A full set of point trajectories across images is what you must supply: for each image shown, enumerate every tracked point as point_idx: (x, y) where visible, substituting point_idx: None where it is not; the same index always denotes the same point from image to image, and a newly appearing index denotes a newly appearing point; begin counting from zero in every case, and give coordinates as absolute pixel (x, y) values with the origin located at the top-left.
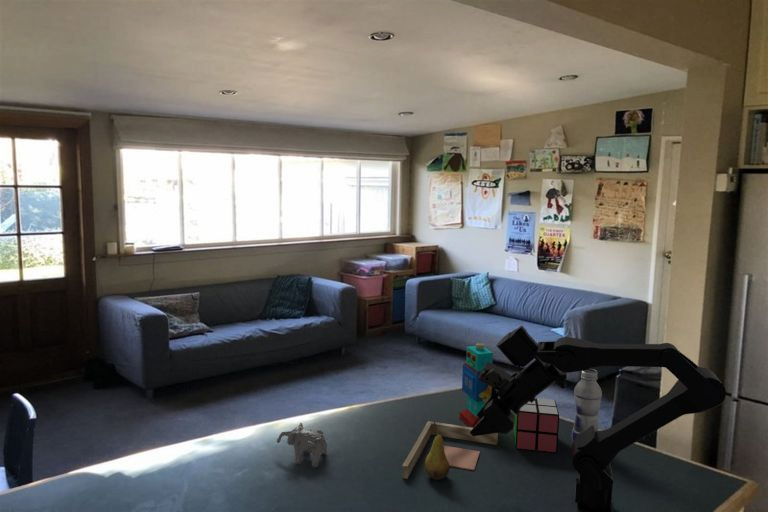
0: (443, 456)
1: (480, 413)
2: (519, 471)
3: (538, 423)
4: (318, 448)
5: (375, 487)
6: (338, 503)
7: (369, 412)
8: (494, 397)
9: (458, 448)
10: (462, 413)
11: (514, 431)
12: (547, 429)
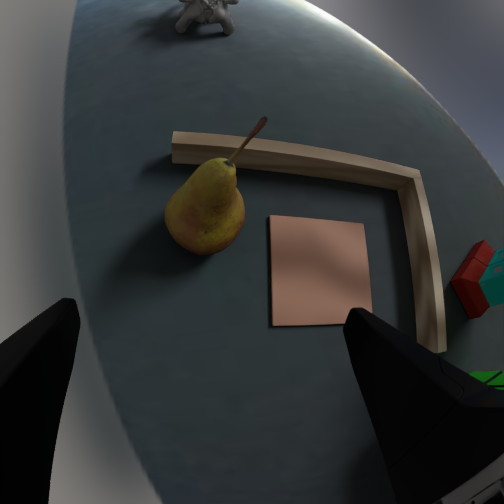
0: (192, 219)
1: (360, 331)
2: (311, 441)
3: None
4: (191, 9)
5: (125, 115)
6: (70, 84)
7: (402, 85)
8: (462, 435)
9: (365, 262)
10: (482, 246)
11: (469, 373)
12: None
